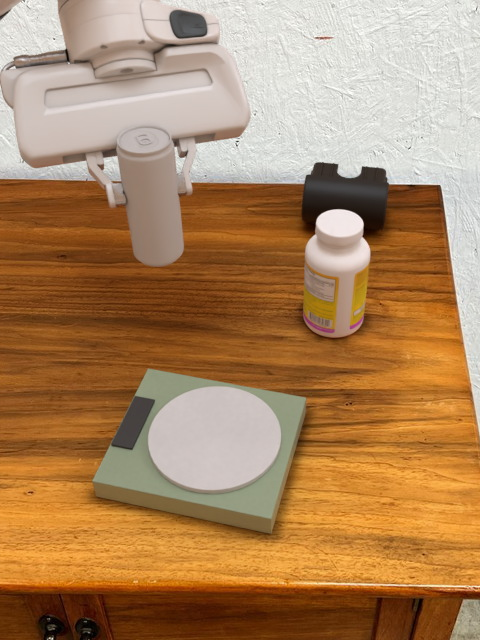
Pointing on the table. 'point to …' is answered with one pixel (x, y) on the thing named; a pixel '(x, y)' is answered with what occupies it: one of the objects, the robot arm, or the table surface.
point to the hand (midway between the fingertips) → (152, 200)
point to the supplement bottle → (336, 274)
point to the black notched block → (346, 194)
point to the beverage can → (151, 194)
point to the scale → (203, 450)
